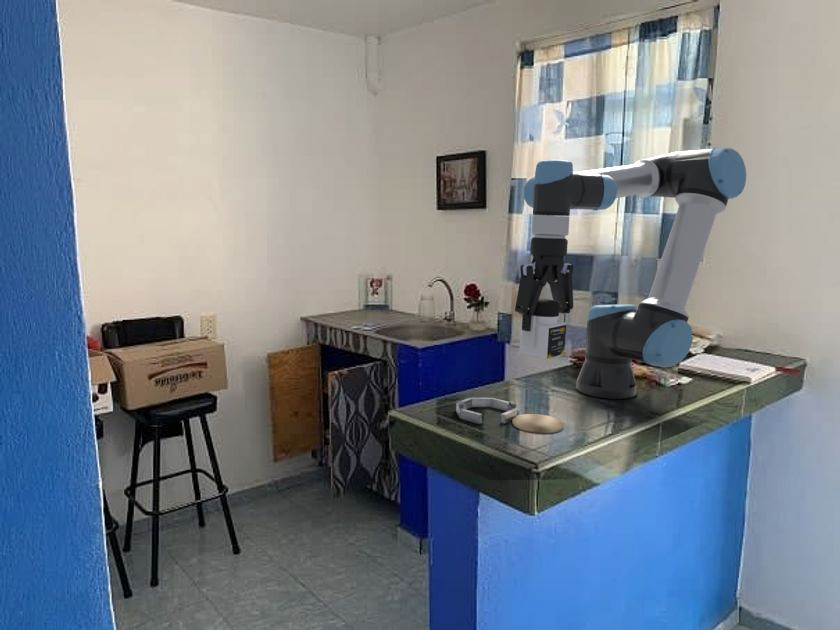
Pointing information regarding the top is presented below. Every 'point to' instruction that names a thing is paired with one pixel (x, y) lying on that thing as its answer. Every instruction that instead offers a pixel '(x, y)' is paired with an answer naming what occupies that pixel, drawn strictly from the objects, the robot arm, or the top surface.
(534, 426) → the disc
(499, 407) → the collar
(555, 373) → the top surface
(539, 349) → the medicine bottle
